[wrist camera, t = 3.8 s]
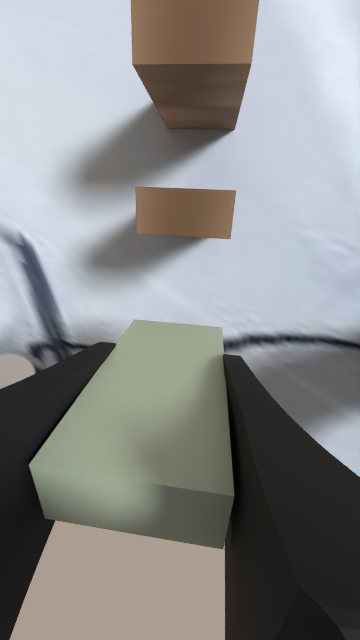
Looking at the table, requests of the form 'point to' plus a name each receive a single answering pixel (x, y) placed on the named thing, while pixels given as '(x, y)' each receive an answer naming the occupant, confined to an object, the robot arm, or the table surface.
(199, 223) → the domino
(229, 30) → the domino
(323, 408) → the table surface
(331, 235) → the table surface
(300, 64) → the table surface
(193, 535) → the domino
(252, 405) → the robot arm
